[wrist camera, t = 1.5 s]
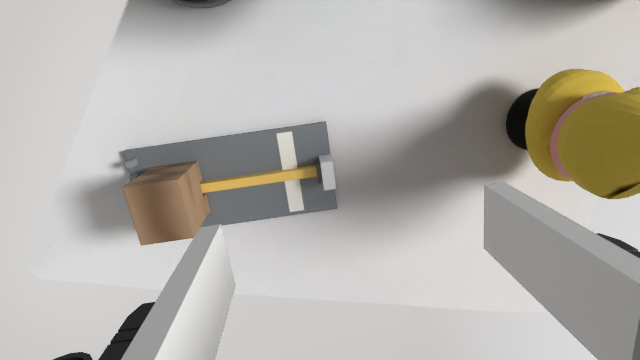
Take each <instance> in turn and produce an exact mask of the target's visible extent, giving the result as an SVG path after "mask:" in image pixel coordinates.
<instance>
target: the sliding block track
mask: <svg viewBox="0 0 640 360" xmlns="http://www.w3.org/2000/svg"><path fill="white" fill-rule="evenodd" d="M123 153H124V156H125V160H126V162H124V163H125V166H126V168H128V169H129V172H130V175H131V177H129V178H130V181H132V180H134V179H135V178H137V177H138V176H140V175H141V174H143V173H144V172H145V171H147V170H148V169H150V168H151V167H158V166H165V165H172V164H179V163H186V162H193V161H198V164H199V168H200V172H201V176H202V180H201V181H200V185H201V189H202V193H203V194H205V193H206V196H207V200H208V204H209V208H210V212H209V213H208V215H207V217H206V218H205V220H204V222H203V223H202V225H201V227H206V226H212V225H219V224H221V225H228V224H235V223H241V222H248V221H255V220H262V219H269V218H276V217H282V216H289V215H296V214H303V213H310V212H317V211H324V210H330V209H337V205H336V197H335V189H336V184H335V176H334V168H333V161H332V158H331V155H330V149H329V141H328V134H327V126H326V122H319V123H312V124H305V125H298V126H291V127H284V128H277V129H270V130H263V131H256V132H249V133H242V134H235V135H228V136H221V137H214V138H207V139H200V140H193V141H186V142H179V143H171V144H164V145H157V146H150V147H143V148H136V149H129V150H125V151H123ZM199 229H200V228H199Z"/></svg>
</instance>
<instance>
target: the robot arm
mask: <svg viewBox="0 0 640 360" xmlns="http://www.w3.org/2000/svg"><path fill="white" fill-rule="evenodd" d="M172 1H174V2H176V3H179V4H182V5H185V6H189V7H195V8H209V7H215V6H219V5H222V4H225V3H227V2H229V1H231V0H172ZM484 249H485V250H486V251H487V252H488V253H489V254H490V255H491V256H492V257H493V258H494V259H495V260H497V261H498V262H499V263H500V264H501V265H502V266H503V267H504V268H505V269H506V270H507V271H508V272H509V273H510V274H511V275H512V276H513V277H514V278H515V279H516V280H517V281H518V282H519V283H520V284H521V285H522V286H523V287H524V288H525V289H526V290H527V291H528V292H529V293H530V294H531V295H532V296H533V297H534V298H535V299H536V300H537V301H538V302H539V303H540V304H542V305H543V306H544V307H545V308H546V309H547V310H548V311H549V312H550V313H551V314H552V315H553V316H554V317H555V318H556V319H557V320H558V321H559V322H560V323H561V324H562V325H563V326H564V327H565V328H566V329H567V330H568V331H569V332H570V333H571V334H572V335H573V336H574V337H575V338H576V339H577V340H578V341H579V342H580V343H581V344H582V345H584V347H585V348H587V349H588V350H589V351H590V352H591V353H592V354H593V355H594V356H595V357H596V358H597V359H598V360H640V252H638V249H636V248H634V247H632V246H630V245H628V244H626V243H625V242H623V241H621V240H618V239H615V238H612V237H609V236H606V235H602V234H599V233H598V234H595V233H593V232H592V231H590V230H588V229H586V228H585V227H583V226H581V225H579V224H578V223H576V222H574V221H572V220H570V219H569V218H567V217H565V216H563V215H562V214H560V213H558V212H556V211H554V210H553V209H551V208H549V207H547V206H546V205H544V204H542V203H540V202H538V201H537V200H535V199H533V198H531V197H530V196H528V195H526V194H524V193H522V192H521V191H519V190H517V189H515V188H514V187H512V186H510V185H508V184H506V183H505V182H501V183H494V184H488V185H484ZM235 286H236V285H235V281H234V277H233V273H232V269H231V265H230V261H229V257H228V253H227V249H226V245H225V240H224V236H223V232H222V228H221V224H219V225H212V226H206V227H200V229H199V231H198V232H197V234H196V236H195V237H194V239H193V241H192V242H191V244H190V246H189V247H188V249H187V251H186V252H185V254H184V256H183V257H182V259H181V261H180V262H179V264H178V266H177V267H176V269H175V271H174V272H173V274H172V276H171V277H170V279H169V281H168V282H167V284H166V286H165V287H164V289H163V291H162V292H161V294H160V296H159V297H158V299H157V301H156V302H153V303H145V304H142V305H141V306H139V307H138V308H137V309H136V310H135V311H134V312H132V313H131V314H130V315H129V316H128V317H127V318H126V320H125V321H124V323H123V324H122V326H121V327H120V329H119V330H118V333H116V335H115V336H114V338H113V339H112V340H111V344H110V345H108V346H107V348H106V349H105V351H104V352H103V354H102V355H101V357H100V358H99V360H215V357H216V353H217V350H218V346H219V343H220V339H221V336H222V332H223V328H224V325H225V321H226V318H227V314H228V311H229V307H230V304H231V300H232V297H233V293H234V290H235ZM54 360H92V358H91V356H90V354H87V353H83V352H78V353H70V354H67V355H64V356H61V357H58V358H56V359H54Z"/></svg>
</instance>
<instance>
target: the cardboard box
mask: <svg viewBox="0 0 640 360" xmlns="http://www.w3.org/2000/svg"><path fill="white" fill-rule="evenodd" d="M201 180H202V176H201V172H200V168H199V164H198V161H193V162H186V163H179V164H172V165H165V166H158V167H151V168H150V169H148V170H147V171H145V172H144V173H143V174H141V175H140V176H138V177H137V178H135V179H134V180H132V181H131V182H130V183H128V184H127V185H125V186H124V187H122V189H123V192H124V195H125V198H126V201H127V204H128V207H129V210H130V213H131V216H132V219H133V222H134V225H135V228H136V231H137V235H138V238H139V241H140V244H141V245H148V244H154V243H161V242H168V241H175V240H182V239H189V238H194V237H195V235H196V233H197V232H198V230H199V228H200V227H201V225H202V223H203V222H204V220H205V218H206V217H207V215H208V213H209V212H210V208H209V204H208V200H207V196H206V193H205V194H203V193H202V189H201V185H200V181H201Z"/></svg>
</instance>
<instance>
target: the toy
mask: <svg viewBox="0 0 640 360" xmlns="http://www.w3.org/2000/svg"><path fill="white" fill-rule="evenodd" d="M506 129H507V134H508V136H509V138H510V139H511V141H512V142H513V143H514V144H515V145H517V146H519V147H521V148H523V149H527V150H528V152H529V155H530V157H531V159H532V161H533V163H534V164H535V166H536V167H537V168H538V169H539V170H540V171H541V172H542V173H544V174H545V175H546V176H548V177H550V178H553V179H555V180H560V181H574V182H575V183H576V184H578V185H579V186H580V187H582V188H583V189H585V190H587V191H589V192H591V193H593V194H595V195H597V196H599V197H602V198H607V199H620V198H626V197H630V196H633V195H635V194H638V193H640V87H637V88H633V89H631V90H628V91H624V90H623V88H622V87H621V86H620V85H619V84H618V83H617V82H616V81H615V80H614V79H613V78H611V77H610V76H609V75H607V74H604V73H602V72H599V71H591V70H583V69H569V70H565V71H561V72H559V73H557V74H555V75H553V76H551V77H550V78H549V79H547V80H546V81H545V82H544V83H543V84H542V85H541V87H540V88H538V89H533V90H531V91H528V92H526V93H525V94H523V95H522V96H520V97H519V98H518V99H517V100H516V101H515V103H514V104H513V105H512V107H511V109H510V110H509V113H508V116H507V121H506Z"/></svg>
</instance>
